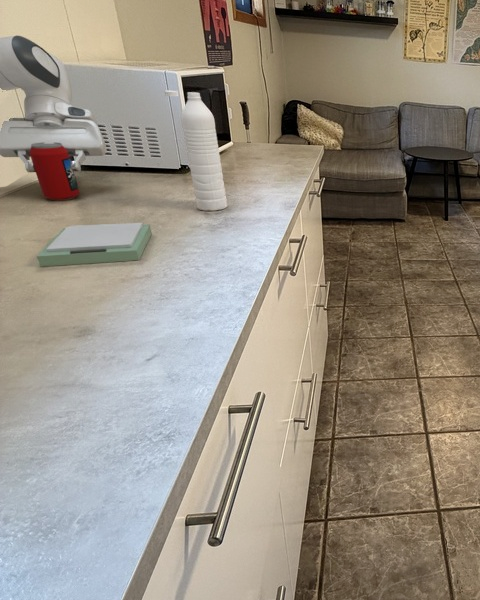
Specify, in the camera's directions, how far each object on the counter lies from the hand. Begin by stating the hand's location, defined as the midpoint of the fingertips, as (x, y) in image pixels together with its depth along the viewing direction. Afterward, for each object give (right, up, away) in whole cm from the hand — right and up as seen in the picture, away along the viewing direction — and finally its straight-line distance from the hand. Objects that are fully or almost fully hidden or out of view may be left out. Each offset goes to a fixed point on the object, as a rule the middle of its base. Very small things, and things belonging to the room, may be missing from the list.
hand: (54, 170), depth 106 cm
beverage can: (-1, -6, +4) cm, 7 cm away
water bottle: (+32, -8, +5) cm, 34 cm away
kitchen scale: (+26, -20, -21) cm, 39 cm away
